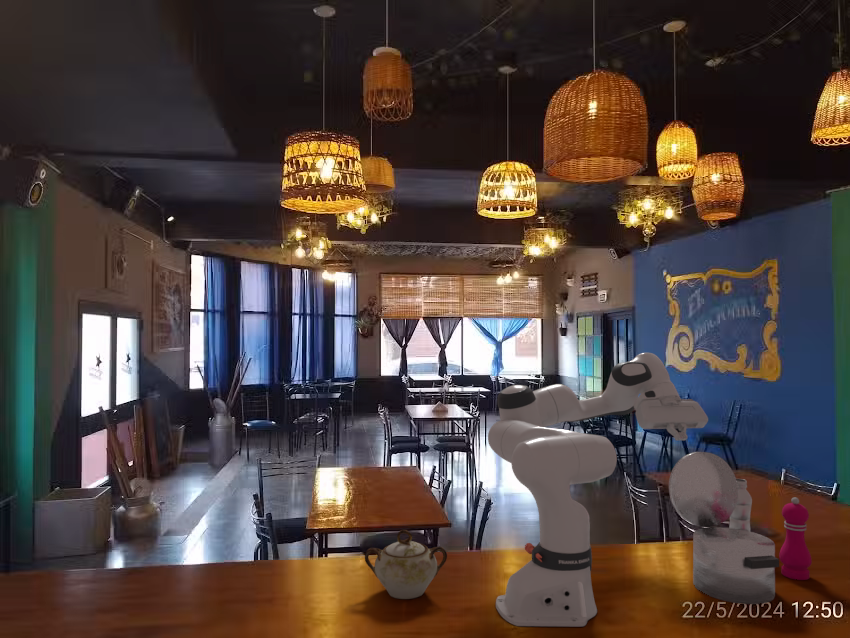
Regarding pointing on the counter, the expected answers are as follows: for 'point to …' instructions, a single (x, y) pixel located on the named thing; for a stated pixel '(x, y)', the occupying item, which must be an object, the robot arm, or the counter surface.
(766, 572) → the cooker pot
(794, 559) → the pepper mill
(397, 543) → the sugar bowl
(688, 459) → the cooker lid
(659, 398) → the robot arm
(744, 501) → the silver metal bottle
